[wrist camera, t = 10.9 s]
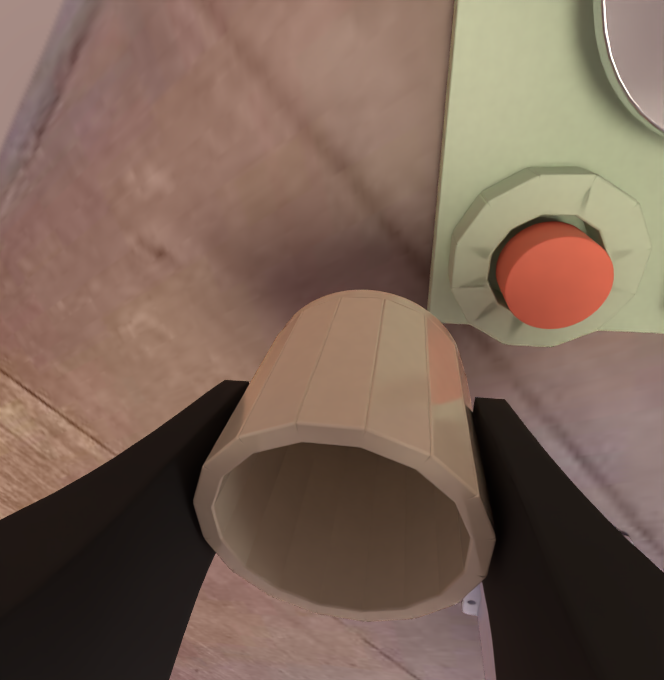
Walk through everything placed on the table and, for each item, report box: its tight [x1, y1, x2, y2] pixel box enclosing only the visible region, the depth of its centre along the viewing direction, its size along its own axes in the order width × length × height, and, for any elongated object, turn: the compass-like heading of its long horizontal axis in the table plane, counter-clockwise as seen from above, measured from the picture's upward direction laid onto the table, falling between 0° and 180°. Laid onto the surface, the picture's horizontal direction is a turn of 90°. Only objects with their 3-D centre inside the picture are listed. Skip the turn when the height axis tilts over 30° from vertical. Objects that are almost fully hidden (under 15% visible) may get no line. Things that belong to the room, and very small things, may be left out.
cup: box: [193, 290, 496, 622], centre depth 9 cm, size 5×5×5 cm
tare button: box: [496, 221, 614, 329], centre depth 13 cm, size 3×3×2 cm
